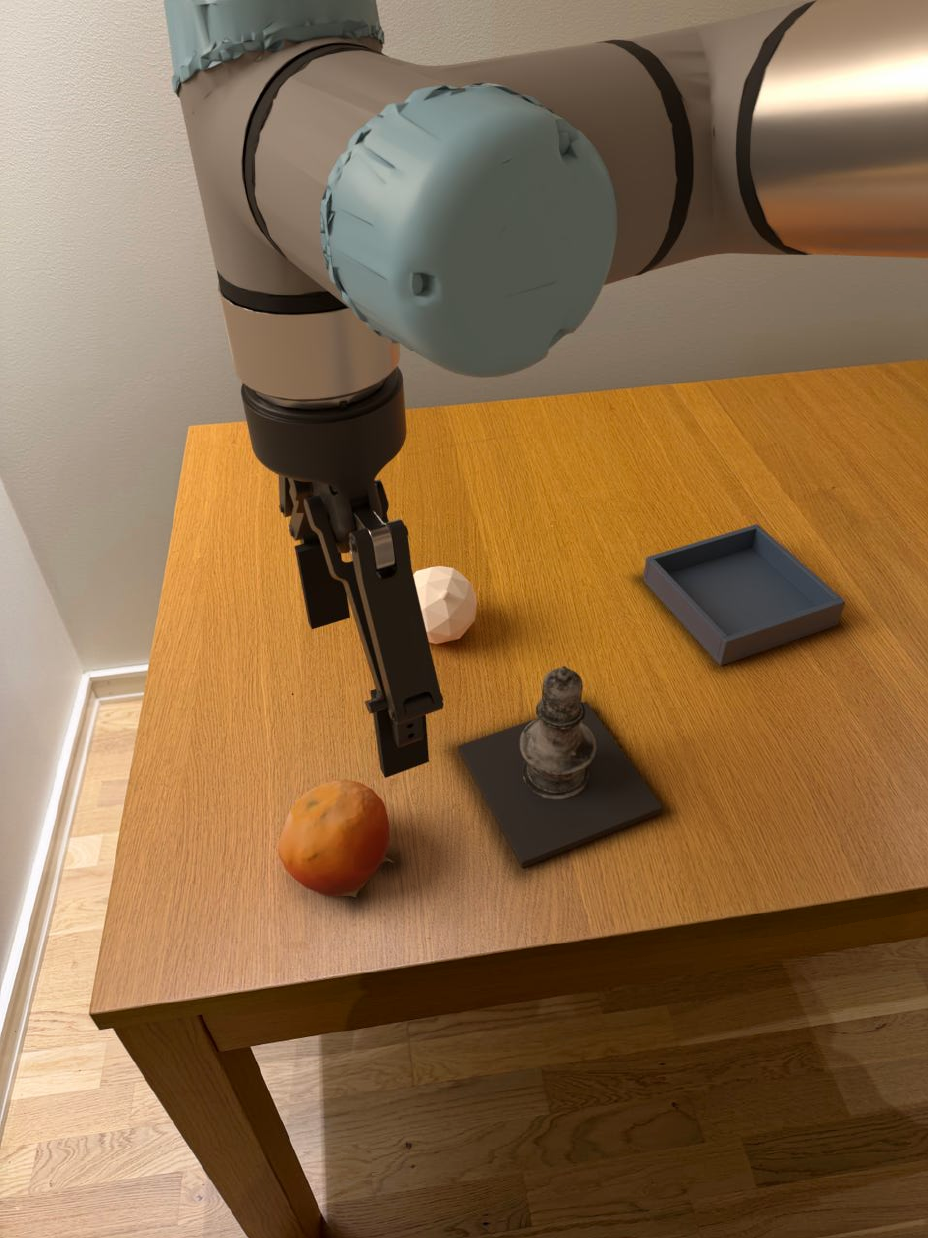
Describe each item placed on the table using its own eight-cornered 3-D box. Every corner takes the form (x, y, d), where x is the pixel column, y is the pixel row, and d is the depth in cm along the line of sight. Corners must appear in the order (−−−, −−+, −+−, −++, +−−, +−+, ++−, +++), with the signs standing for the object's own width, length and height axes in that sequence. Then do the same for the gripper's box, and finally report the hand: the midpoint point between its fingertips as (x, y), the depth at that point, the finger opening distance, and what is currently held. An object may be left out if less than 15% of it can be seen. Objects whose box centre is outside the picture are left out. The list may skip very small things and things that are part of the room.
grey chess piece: (513, 747, 72) (516, 641, 64) (584, 740, 73) (596, 634, 65) (524, 806, 68) (529, 701, 60) (600, 799, 69) (615, 692, 60)
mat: (661, 813, 68) (663, 807, 68) (521, 869, 65) (522, 863, 65) (586, 707, 77) (586, 701, 76) (458, 751, 73) (457, 745, 73)
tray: (837, 625, 84) (846, 601, 82) (720, 666, 80) (726, 642, 78) (751, 546, 93) (757, 523, 91) (642, 580, 89) (646, 557, 87)
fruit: (374, 932, 60) (311, 849, 57) (302, 917, 65) (241, 841, 62) (435, 842, 65) (381, 761, 62) (364, 836, 70) (311, 761, 67)
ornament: (484, 607, 86) (501, 588, 78) (436, 665, 84) (449, 651, 77) (428, 561, 86) (440, 537, 78) (379, 618, 84) (387, 599, 76)
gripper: (517, 488, 34) (508, 816, 48) (316, 264, 50) (353, 557, 65) (328, 541, 31) (378, 869, 46) (183, 289, 48) (253, 586, 63)
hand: (364, 687), depth 55 cm, fingers open, 13 cm apart
